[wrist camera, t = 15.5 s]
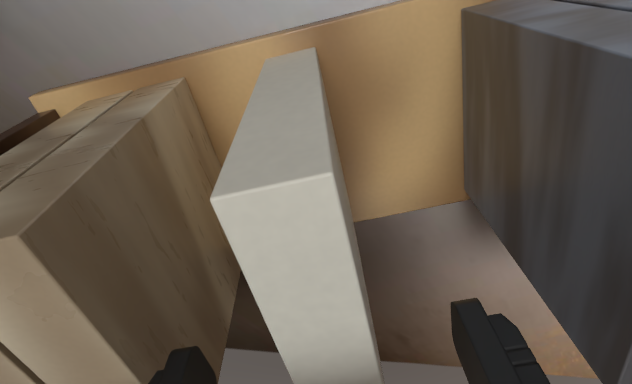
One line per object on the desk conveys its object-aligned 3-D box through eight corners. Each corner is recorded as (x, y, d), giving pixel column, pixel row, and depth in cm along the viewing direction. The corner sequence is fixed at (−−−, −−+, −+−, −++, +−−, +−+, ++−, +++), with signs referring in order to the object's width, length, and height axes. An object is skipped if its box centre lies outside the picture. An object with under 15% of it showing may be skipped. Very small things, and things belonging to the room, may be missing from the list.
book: (312, 221, 28) (319, 443, 15) (265, 58, 21) (207, 199, 9) (351, 213, 27) (394, 432, 15) (315, 46, 21) (333, 172, 8)
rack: (142, 255, 30) (9, 497, 17) (39, 91, 23) (-350, 278, 9) (571, 169, 27) (846, 379, 13) (607, -52, 20) (1280, -88, 6)
